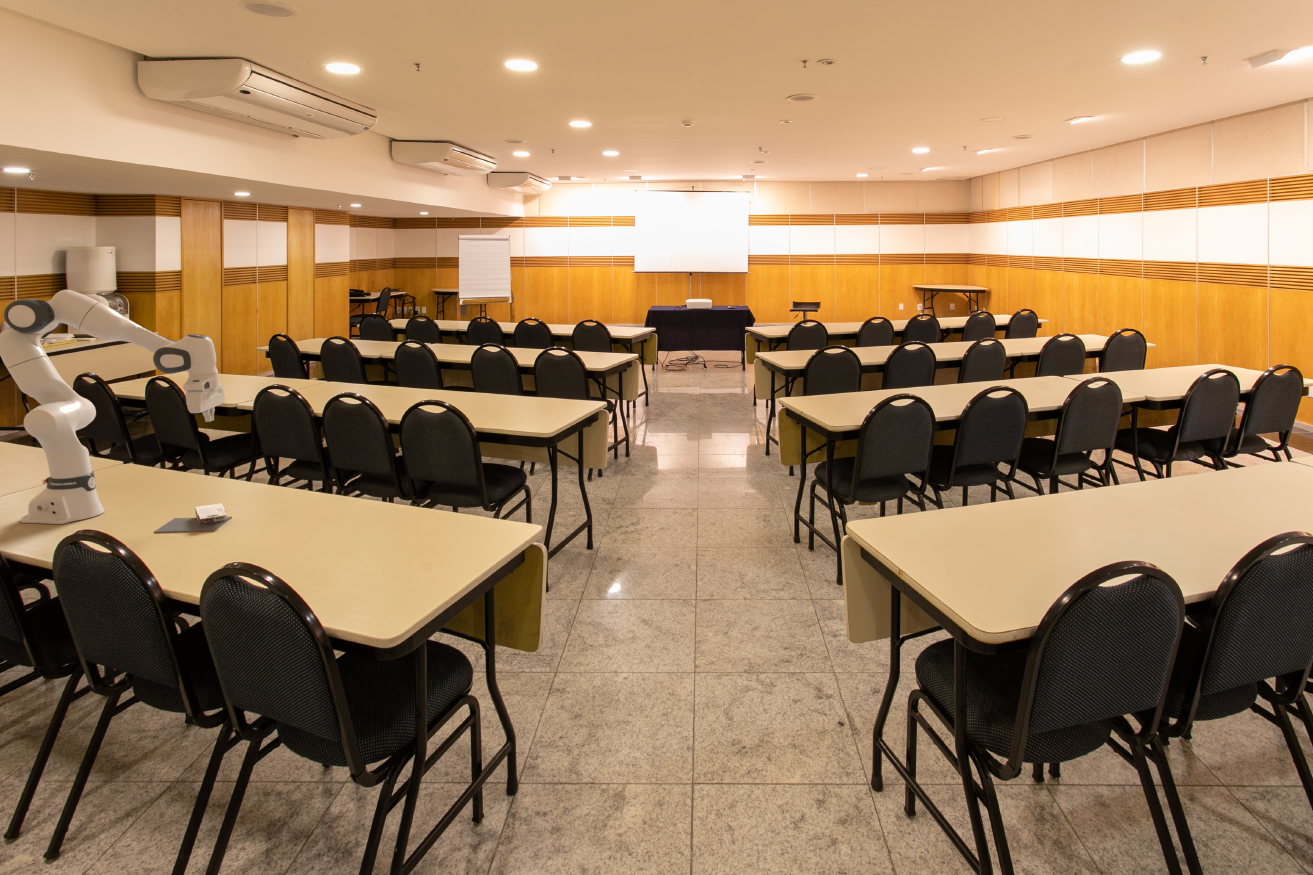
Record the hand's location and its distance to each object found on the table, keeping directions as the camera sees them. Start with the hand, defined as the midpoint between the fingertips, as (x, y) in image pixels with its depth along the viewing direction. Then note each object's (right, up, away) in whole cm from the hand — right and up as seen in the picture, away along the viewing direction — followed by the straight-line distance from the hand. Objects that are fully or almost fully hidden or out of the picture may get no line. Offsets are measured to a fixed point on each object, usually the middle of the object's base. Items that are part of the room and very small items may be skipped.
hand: (209, 421), depth 266 cm
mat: (+6, -34, -18) cm, 39 cm away
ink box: (+5, -30, -9) cm, 32 cm away
